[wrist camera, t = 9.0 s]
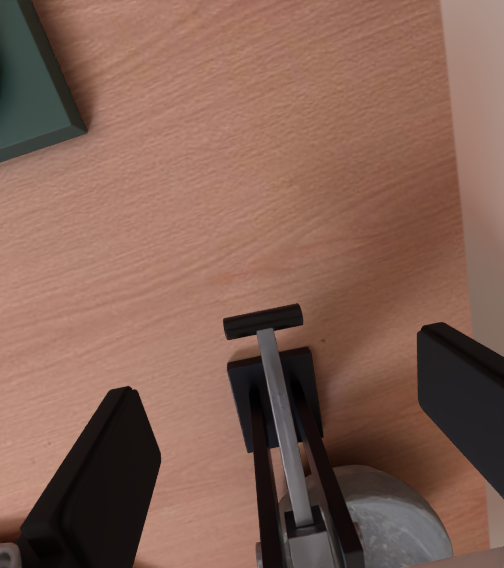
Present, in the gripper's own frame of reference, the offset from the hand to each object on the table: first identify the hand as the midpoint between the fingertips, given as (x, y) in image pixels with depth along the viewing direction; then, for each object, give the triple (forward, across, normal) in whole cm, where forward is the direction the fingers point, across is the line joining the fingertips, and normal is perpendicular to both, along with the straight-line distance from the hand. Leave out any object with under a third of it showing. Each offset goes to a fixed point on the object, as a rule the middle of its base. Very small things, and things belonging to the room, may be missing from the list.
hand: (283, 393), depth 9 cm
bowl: (+16, -4, +28) cm, 32 cm away
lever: (+7, 0, +8) cm, 11 cm away
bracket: (+16, 0, +13) cm, 21 cm away
